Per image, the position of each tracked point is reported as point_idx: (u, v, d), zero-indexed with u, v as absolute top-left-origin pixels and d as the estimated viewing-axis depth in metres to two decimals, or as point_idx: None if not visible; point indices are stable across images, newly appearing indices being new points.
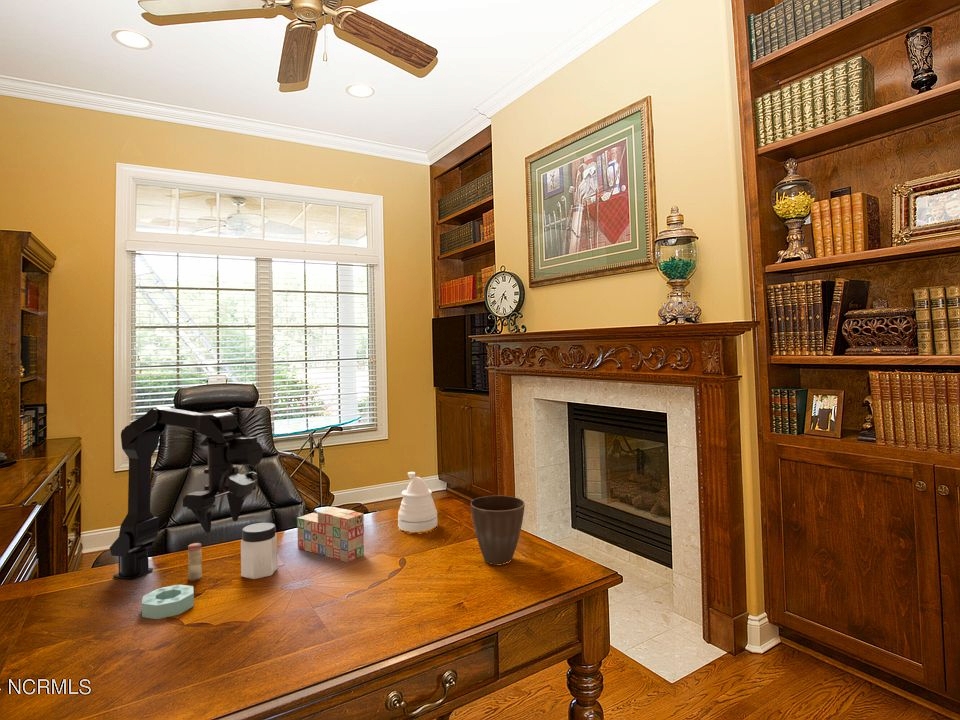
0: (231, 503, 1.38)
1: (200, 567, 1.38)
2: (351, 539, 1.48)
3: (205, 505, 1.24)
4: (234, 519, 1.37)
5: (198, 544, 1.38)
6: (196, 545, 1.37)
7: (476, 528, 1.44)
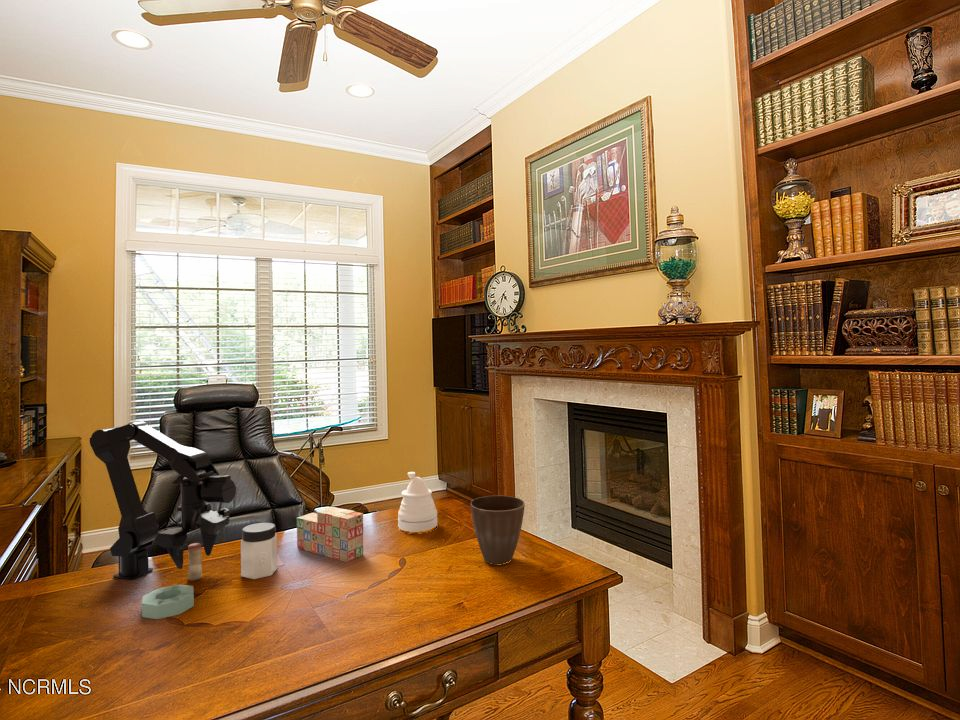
0: (204, 538, 1.43)
1: (200, 567, 1.38)
2: (351, 539, 1.48)
3: (176, 543, 1.29)
4: (207, 553, 1.42)
5: (198, 544, 1.38)
6: (196, 545, 1.37)
7: (476, 528, 1.44)
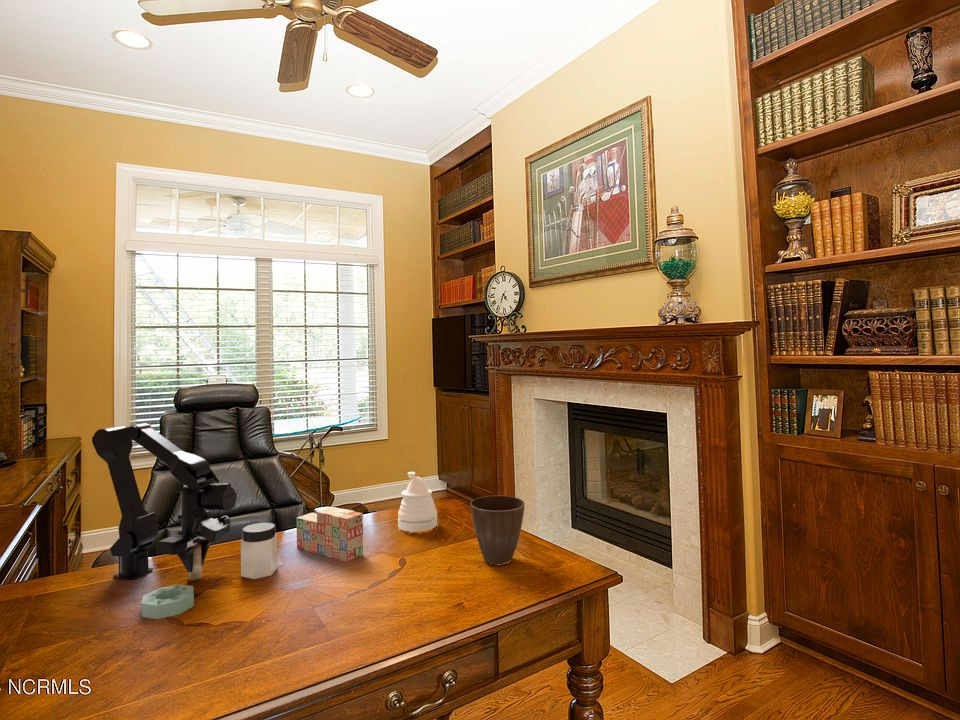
0: None
1: (200, 567, 1.38)
2: (351, 539, 1.48)
3: (177, 552, 1.29)
4: None
5: (198, 544, 1.38)
6: (196, 545, 1.37)
7: (476, 528, 1.44)
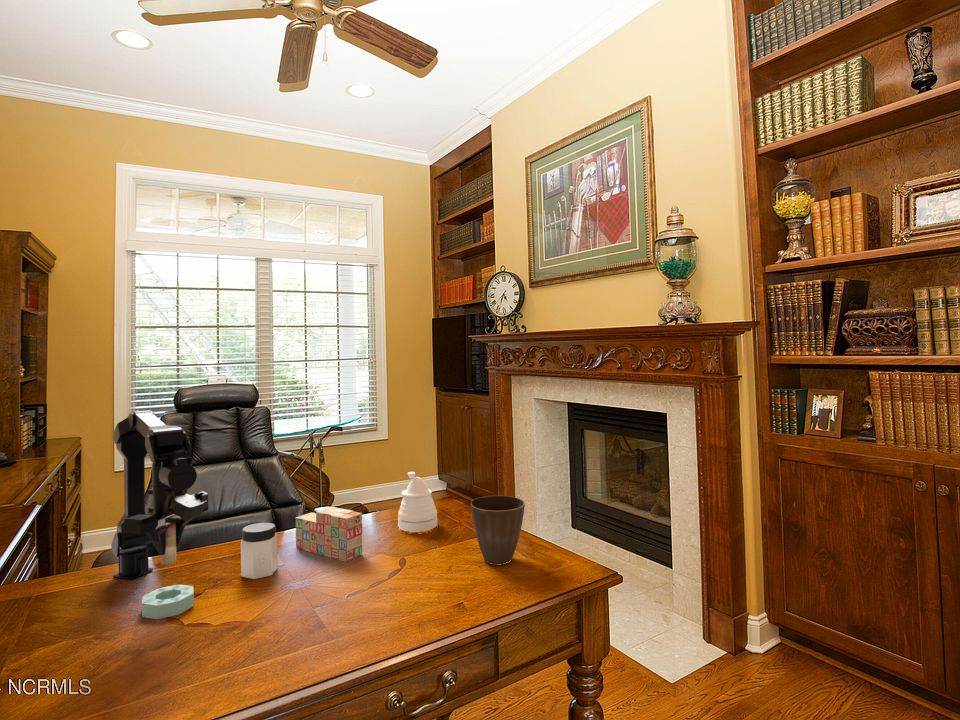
0: None
1: (174, 549, 1.21)
2: (350, 539, 1.49)
3: (146, 530, 1.12)
4: None
5: (172, 523, 1.22)
6: (170, 524, 1.21)
7: (476, 528, 1.44)
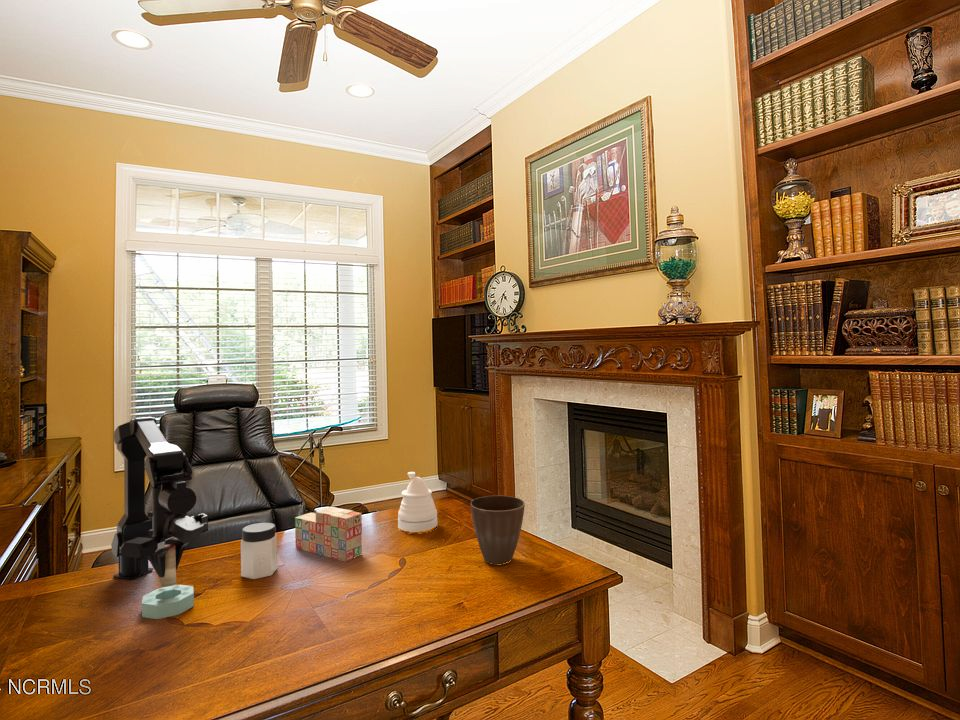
0: None
1: (174, 571, 1.21)
2: (350, 539, 1.49)
3: (145, 554, 1.12)
4: None
5: (172, 545, 1.22)
6: (169, 546, 1.21)
7: (476, 528, 1.44)
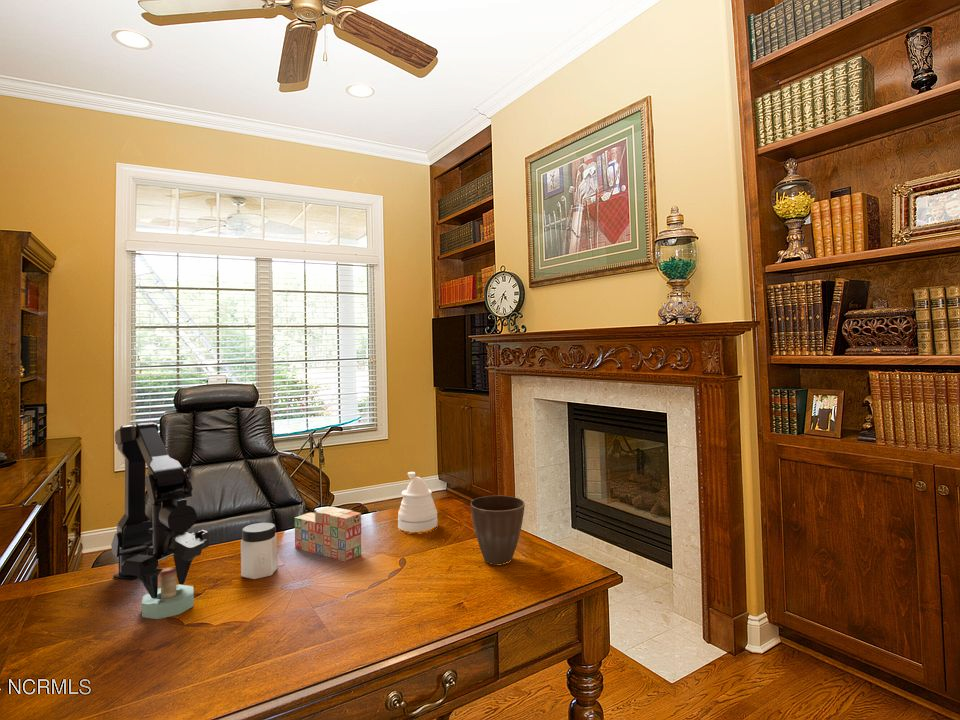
0: (177, 564, 1.25)
1: (174, 595, 1.21)
2: (349, 539, 1.49)
3: (145, 572, 1.12)
4: (180, 582, 1.25)
5: (172, 569, 1.22)
6: (170, 570, 1.21)
7: (476, 528, 1.44)
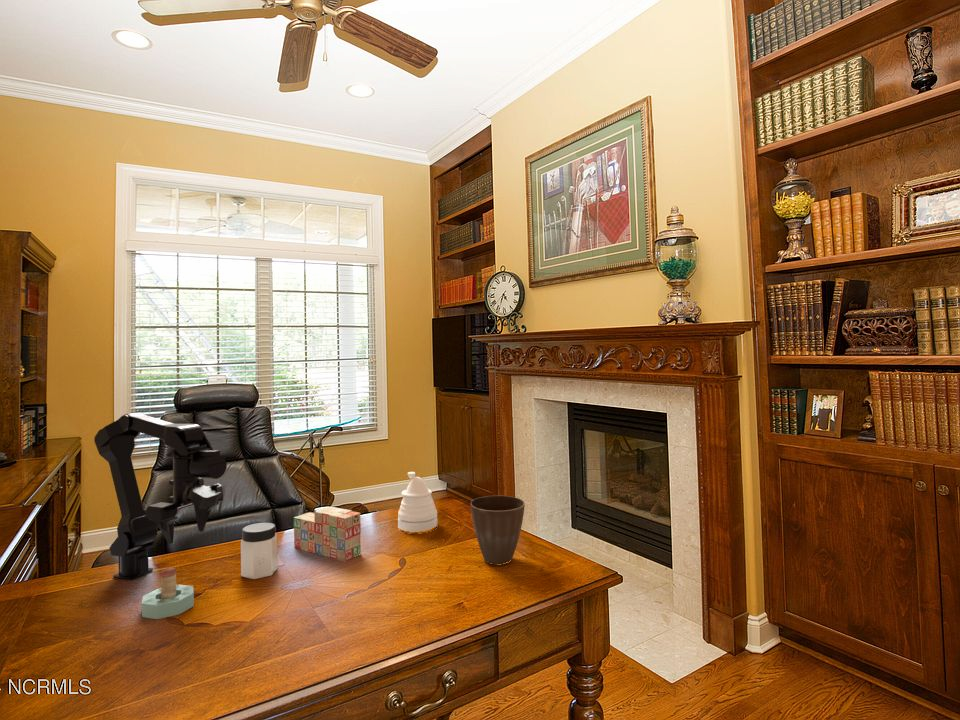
0: (198, 513, 1.39)
1: (174, 595, 1.21)
2: (348, 538, 1.49)
3: (166, 517, 1.25)
4: (200, 529, 1.39)
5: (172, 569, 1.22)
6: (170, 570, 1.21)
7: (476, 528, 1.44)
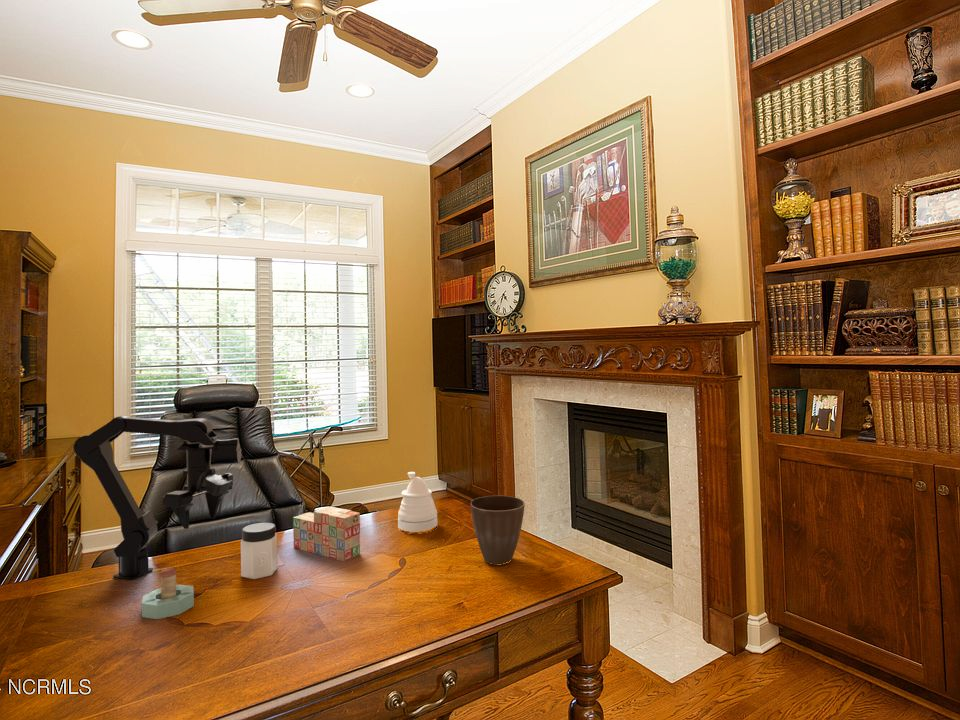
0: (209, 502, 1.49)
1: (174, 595, 1.21)
2: (348, 538, 1.49)
3: (183, 503, 1.35)
4: (212, 516, 1.49)
5: (172, 569, 1.22)
6: (170, 570, 1.21)
7: (476, 528, 1.44)
